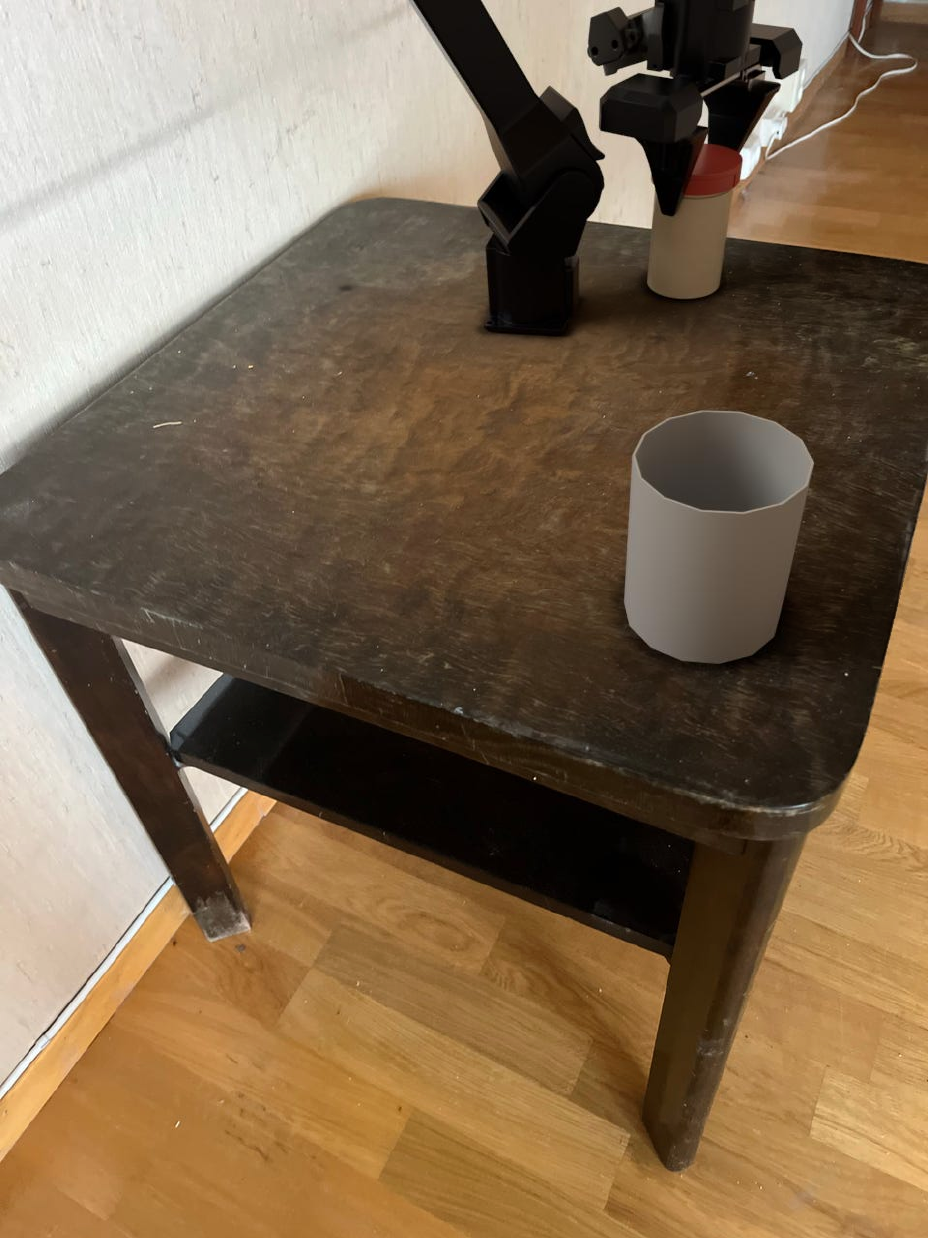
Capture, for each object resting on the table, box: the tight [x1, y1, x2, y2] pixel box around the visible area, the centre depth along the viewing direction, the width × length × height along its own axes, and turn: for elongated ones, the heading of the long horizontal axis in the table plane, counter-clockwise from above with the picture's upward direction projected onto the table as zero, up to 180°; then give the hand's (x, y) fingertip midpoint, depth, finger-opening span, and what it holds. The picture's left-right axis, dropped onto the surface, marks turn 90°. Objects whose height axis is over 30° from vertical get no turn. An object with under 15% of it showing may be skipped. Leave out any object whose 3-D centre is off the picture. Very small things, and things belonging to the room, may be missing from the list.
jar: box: [646, 187, 735, 300], centre depth 76 cm, size 6×6×9 cm
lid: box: [650, 143, 744, 196], centre depth 73 cm, size 7×7×2 cm
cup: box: [623, 410, 815, 665], centre depth 49 cm, size 8×8×10 cm
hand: (692, 199), depth 75 cm, fingers closed on lid, 6 cm apart
